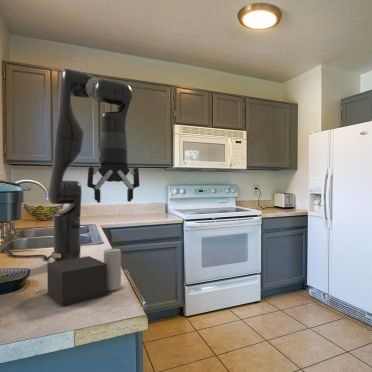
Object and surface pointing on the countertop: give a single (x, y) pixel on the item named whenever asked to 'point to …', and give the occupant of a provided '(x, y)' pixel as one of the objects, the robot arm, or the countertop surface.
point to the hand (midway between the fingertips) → (114, 201)
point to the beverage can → (113, 268)
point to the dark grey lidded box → (76, 280)
